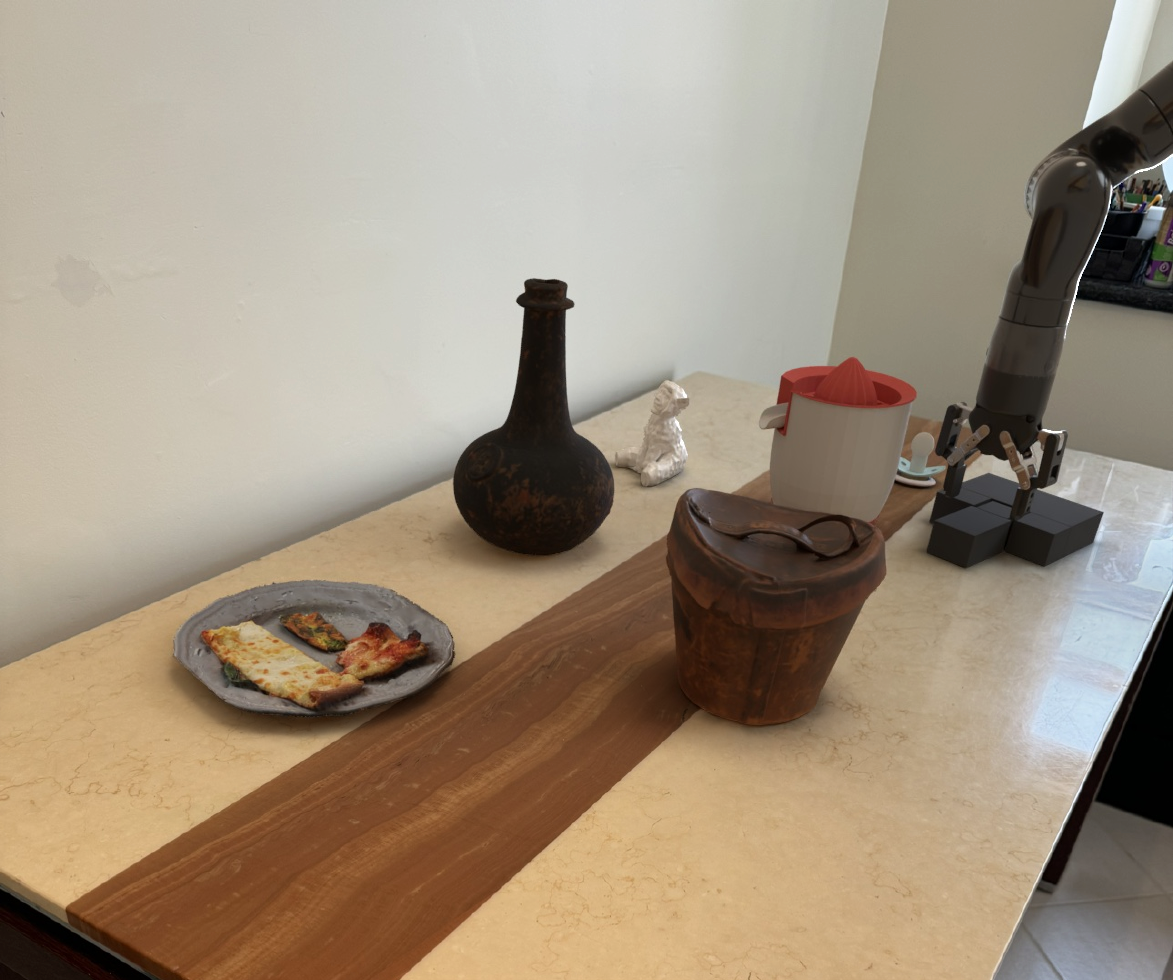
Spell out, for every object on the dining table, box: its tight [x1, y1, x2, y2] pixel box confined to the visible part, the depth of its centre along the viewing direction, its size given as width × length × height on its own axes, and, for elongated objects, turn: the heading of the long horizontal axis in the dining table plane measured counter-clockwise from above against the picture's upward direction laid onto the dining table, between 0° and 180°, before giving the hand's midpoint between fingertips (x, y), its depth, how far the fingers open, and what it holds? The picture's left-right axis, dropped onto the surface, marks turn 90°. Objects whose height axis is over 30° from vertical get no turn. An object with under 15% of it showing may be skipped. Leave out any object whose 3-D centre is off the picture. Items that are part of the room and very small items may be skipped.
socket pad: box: [929, 472, 1104, 567], centre depth 137 cm, size 16×12×4 cm
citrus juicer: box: [758, 356, 918, 525], centre depth 130 cm, size 16×17×20 cm
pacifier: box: [894, 431, 947, 487], centre depth 149 cm, size 7×6×6 cm
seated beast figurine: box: [614, 379, 690, 487], centre depth 144 cm, size 10×9×12 cm
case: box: [665, 487, 888, 726], centre depth 97 cm, size 18×20×18 cm
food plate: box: [172, 579, 456, 719], centre depth 101 cm, size 25×23×4 cm
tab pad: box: [925, 501, 1014, 569], centre depth 132 cm, size 6×12×4 cm, turn 132°
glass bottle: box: [452, 277, 615, 557], centre depth 119 cm, size 18×18×28 cm
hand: (983, 507), depth 129 cm, fingers open, 8 cm apart
